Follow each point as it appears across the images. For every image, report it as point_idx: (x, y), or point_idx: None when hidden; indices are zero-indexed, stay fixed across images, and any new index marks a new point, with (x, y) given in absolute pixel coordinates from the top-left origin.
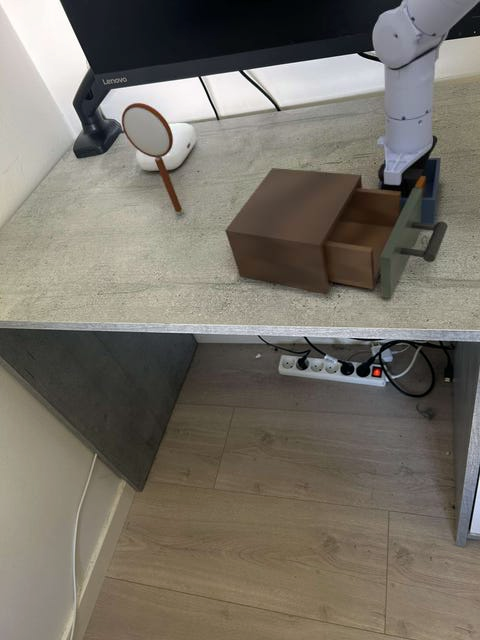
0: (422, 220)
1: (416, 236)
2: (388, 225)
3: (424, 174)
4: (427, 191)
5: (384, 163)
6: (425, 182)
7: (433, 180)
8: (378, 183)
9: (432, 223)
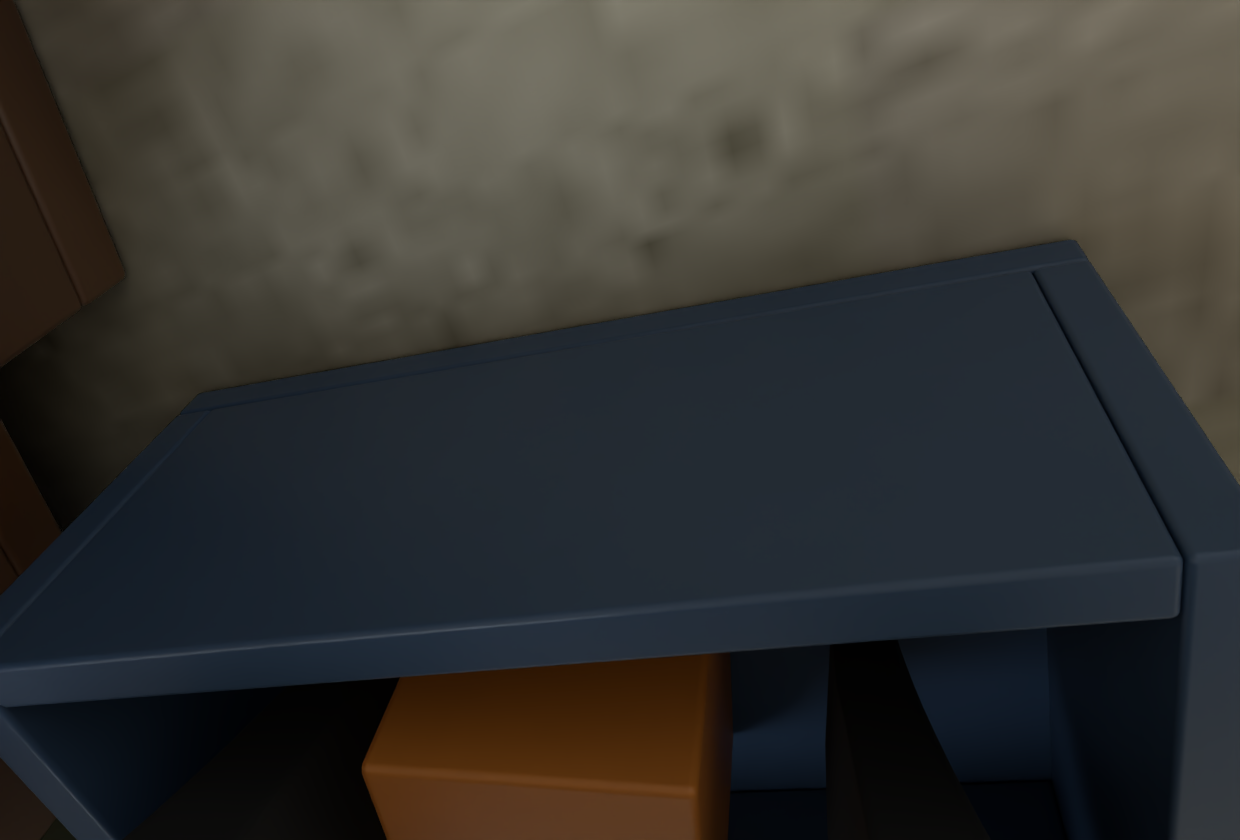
0: None
1: None
2: None
3: (1081, 808)
4: None
5: (1074, 597)
6: (1047, 718)
7: (1060, 794)
8: (328, 637)
9: None
